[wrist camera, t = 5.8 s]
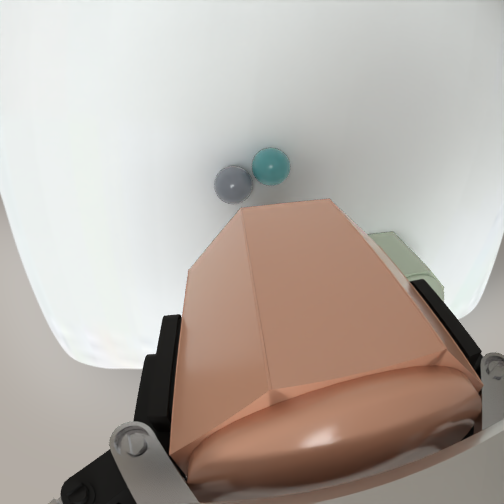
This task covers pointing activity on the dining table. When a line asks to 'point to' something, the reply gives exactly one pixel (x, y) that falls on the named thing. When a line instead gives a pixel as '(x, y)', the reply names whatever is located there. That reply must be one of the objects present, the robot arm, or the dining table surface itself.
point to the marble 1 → (233, 185)
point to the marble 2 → (270, 166)
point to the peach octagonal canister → (308, 360)
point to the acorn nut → (407, 260)
